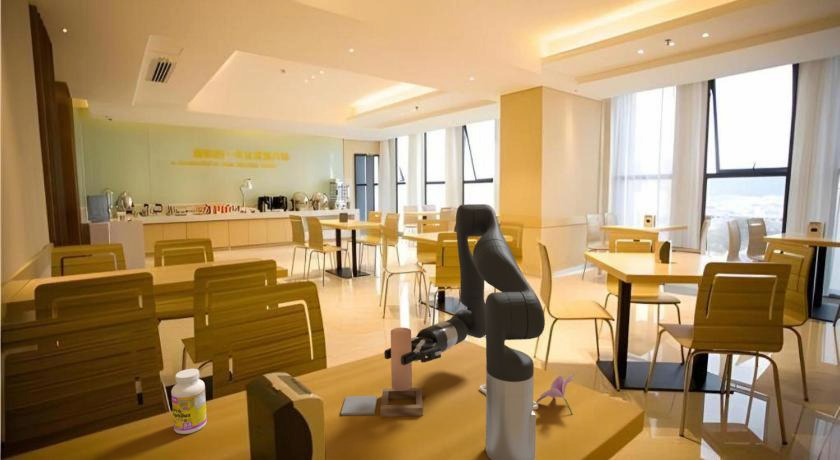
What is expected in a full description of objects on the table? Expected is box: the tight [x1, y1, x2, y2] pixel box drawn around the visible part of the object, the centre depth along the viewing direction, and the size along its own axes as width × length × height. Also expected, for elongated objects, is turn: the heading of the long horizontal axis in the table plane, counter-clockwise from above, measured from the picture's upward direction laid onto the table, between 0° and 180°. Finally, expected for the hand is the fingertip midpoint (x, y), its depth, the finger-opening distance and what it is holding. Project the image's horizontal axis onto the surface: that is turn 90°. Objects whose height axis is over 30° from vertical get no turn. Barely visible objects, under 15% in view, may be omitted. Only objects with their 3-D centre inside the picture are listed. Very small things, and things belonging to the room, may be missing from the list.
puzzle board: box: [379, 387, 424, 418], centre depth 104 cm, size 10×10×2 cm
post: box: [390, 327, 413, 391], centre depth 103 cm, size 5×5×14 cm
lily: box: [535, 372, 577, 415], centre depth 102 cm, size 12×12×10 cm
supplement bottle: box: [170, 368, 208, 435], centre depth 95 cm, size 7×7×13 cm
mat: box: [340, 395, 378, 416], centre depth 104 cm, size 8×8×1 cm
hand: (393, 357), depth 101 cm, fingers closed on post, 5 cm apart
